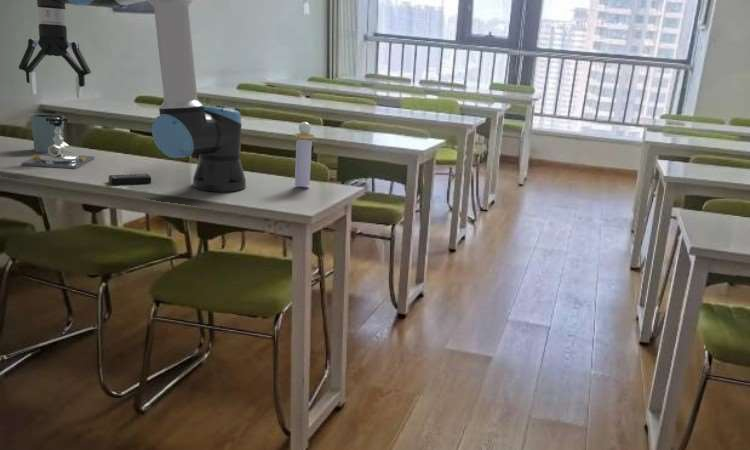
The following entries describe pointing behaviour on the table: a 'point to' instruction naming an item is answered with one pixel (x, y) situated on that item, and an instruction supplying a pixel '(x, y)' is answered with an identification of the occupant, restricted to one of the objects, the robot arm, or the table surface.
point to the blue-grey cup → (43, 131)
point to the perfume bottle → (303, 156)
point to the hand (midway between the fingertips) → (56, 95)
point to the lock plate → (58, 160)
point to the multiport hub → (129, 179)
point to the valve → (57, 137)
